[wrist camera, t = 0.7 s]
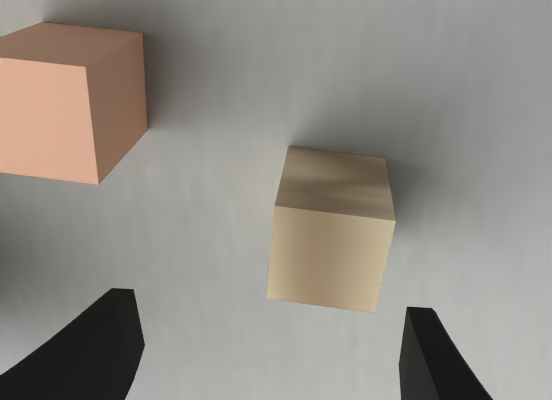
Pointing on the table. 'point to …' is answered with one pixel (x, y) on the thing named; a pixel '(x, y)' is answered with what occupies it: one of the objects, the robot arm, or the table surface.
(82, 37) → the terracotta block
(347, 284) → the maple block
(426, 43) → the table surface
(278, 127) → the table surface
